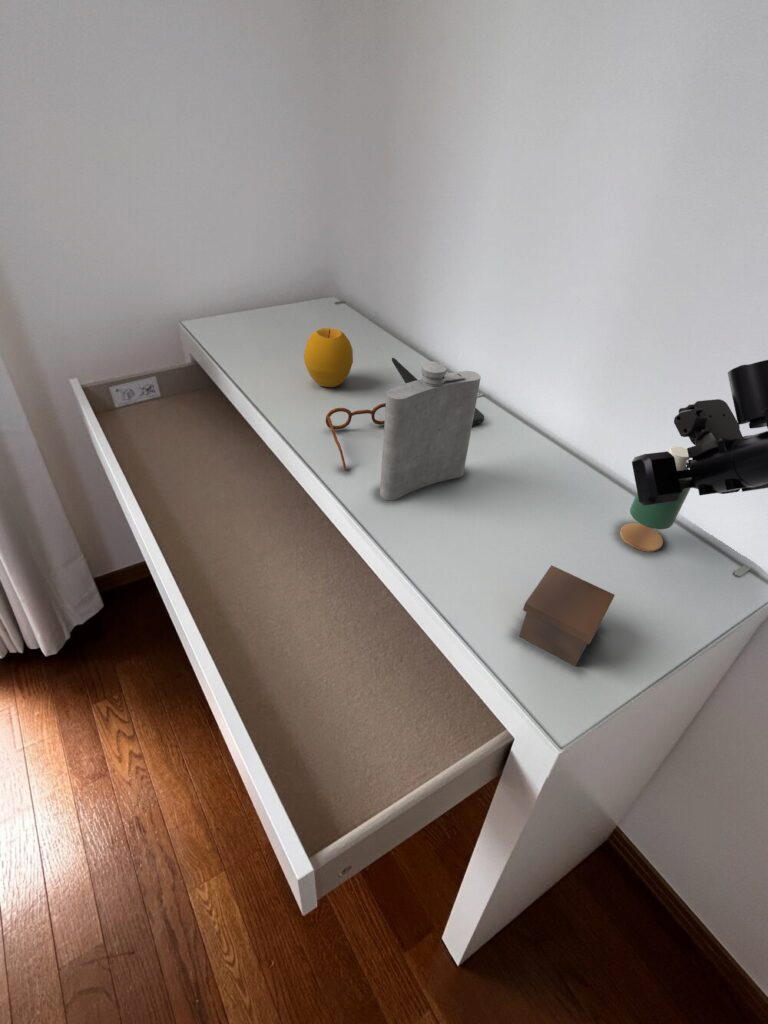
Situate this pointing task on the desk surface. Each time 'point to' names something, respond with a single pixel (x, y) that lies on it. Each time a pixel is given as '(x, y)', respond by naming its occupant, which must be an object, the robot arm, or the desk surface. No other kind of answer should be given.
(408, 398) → the hip flask
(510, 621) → the desk surface
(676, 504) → the bottle
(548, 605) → the brown lidded box
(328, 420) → the glasses
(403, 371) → the game console
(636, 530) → the coaster
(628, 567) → the desk surface
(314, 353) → the apple
